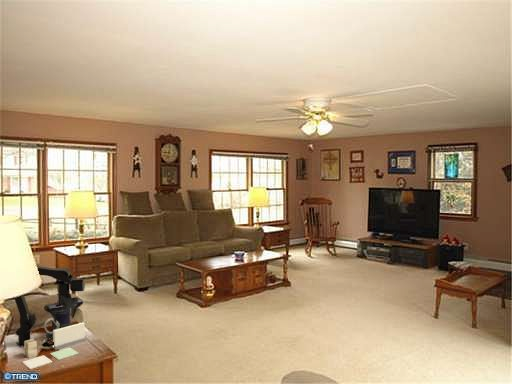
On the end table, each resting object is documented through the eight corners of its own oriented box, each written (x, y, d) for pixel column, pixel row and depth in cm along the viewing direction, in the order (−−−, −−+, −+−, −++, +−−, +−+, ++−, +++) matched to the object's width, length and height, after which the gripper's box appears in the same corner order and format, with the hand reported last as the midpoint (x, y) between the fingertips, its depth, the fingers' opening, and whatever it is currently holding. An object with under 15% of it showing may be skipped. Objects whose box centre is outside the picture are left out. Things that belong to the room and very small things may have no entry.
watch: (61, 337, 232) (61, 318, 231) (45, 341, 226) (45, 321, 226) (57, 334, 236) (57, 315, 235) (42, 338, 230) (42, 319, 230)
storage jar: (66, 325, 251) (66, 300, 250) (73, 329, 244) (73, 304, 243) (49, 329, 244) (48, 304, 243) (55, 334, 237) (55, 308, 236)
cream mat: (22, 362, 201) (22, 361, 201) (43, 355, 209) (43, 355, 209) (30, 369, 195) (30, 368, 195) (52, 362, 202) (52, 361, 202)
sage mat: (50, 354, 211) (50, 353, 211) (69, 348, 219) (69, 347, 218) (58, 360, 204) (58, 359, 204) (78, 353, 212) (78, 352, 212)
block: (24, 354, 210) (24, 341, 210) (33, 352, 213) (32, 338, 213) (28, 357, 207) (28, 343, 206) (36, 355, 210) (36, 341, 209)
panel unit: (46, 343, 224) (45, 325, 224) (75, 334, 236) (75, 318, 236) (55, 349, 216) (55, 331, 216) (85, 340, 228) (85, 323, 228)
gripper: (52, 298, 214) (52, 328, 214) (87, 291, 228) (87, 319, 228) (43, 294, 221) (43, 323, 222) (78, 287, 235) (78, 314, 236)
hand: (64, 320), depth 227 cm, fingers open, 9 cm apart
